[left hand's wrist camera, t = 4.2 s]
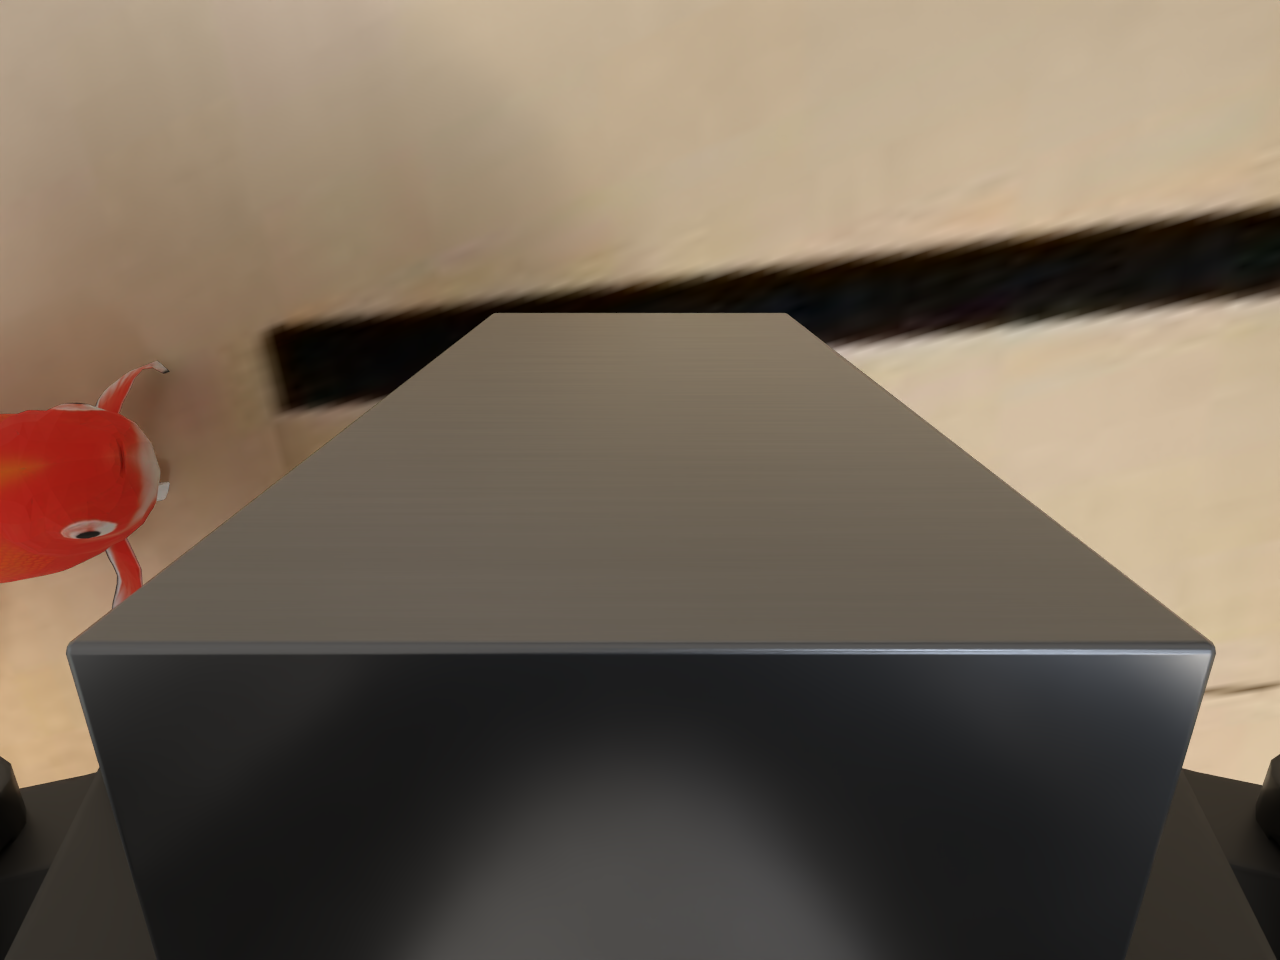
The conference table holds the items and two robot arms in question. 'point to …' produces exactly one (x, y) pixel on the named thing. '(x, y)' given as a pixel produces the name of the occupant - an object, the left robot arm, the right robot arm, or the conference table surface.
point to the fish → (76, 487)
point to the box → (640, 678)
